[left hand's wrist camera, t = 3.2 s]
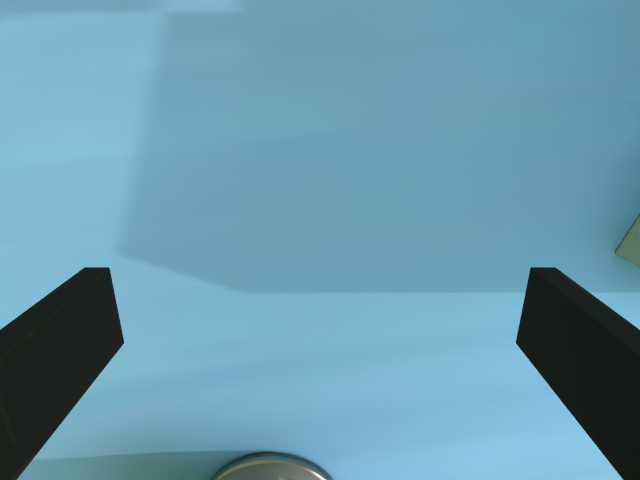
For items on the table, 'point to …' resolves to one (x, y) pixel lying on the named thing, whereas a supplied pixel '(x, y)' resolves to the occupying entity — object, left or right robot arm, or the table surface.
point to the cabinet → (631, 245)
